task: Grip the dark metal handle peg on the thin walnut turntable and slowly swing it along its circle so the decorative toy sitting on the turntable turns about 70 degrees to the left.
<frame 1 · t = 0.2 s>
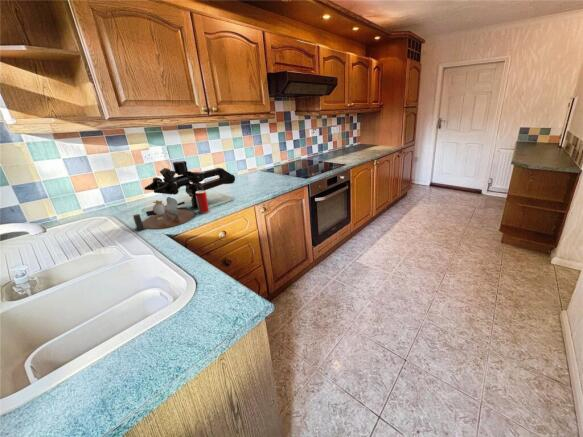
hand: (149, 190, 127), 17 cm above the worktop, tool horizontal, fingers open, 9 cm apart
decorative toy: (169, 218, 137), resting on turntable
soda can: (204, 212, 144), on the worktop
turntable: (164, 213, 134), point 4 cm above the worktop, hinge at 0.0°, touching decorative toy
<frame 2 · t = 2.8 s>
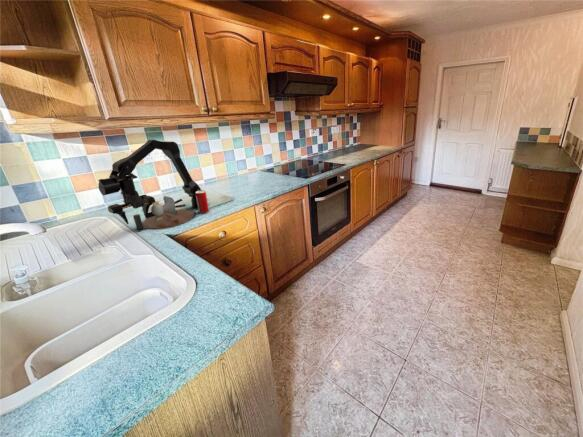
hand: (137, 221, 124), 4 cm above the worktop, tool pointing down, fingers open, 8 cm apart
decorative toy: (169, 217, 136), point 1 cm above the worktop, touching gripper, turntable
everything else where it was.
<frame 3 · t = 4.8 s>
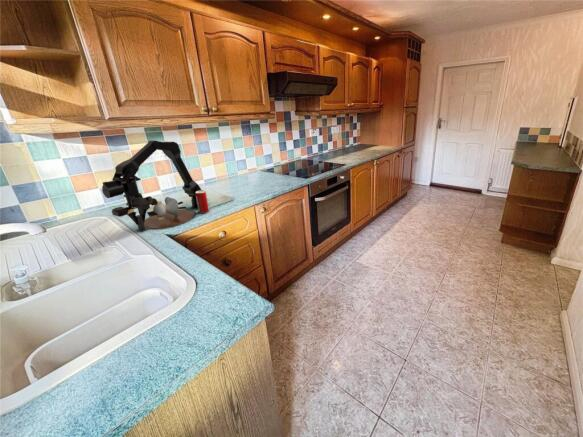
hand: (140, 223, 123), 4 cm above the worktop, tool pointing down, fingers closed on turntable, 3 cm apart
decorative toy: (169, 218, 137), resting on turntable
turntable: (164, 213, 134), point 4 cm above the worktop, hinge at 6.8°, touching decorative toy, gripper
everything else where it was.
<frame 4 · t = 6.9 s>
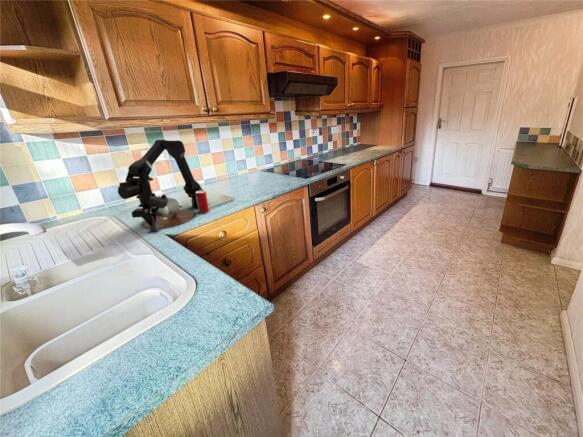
hand: (153, 224, 121), 4 cm above the worktop, tool pointing down, fingers closed on turntable, 3 cm apart
turntable: (165, 213, 133), point 4 cm above the worktop, hinge at 33.5°, touching decorative toy, gripper
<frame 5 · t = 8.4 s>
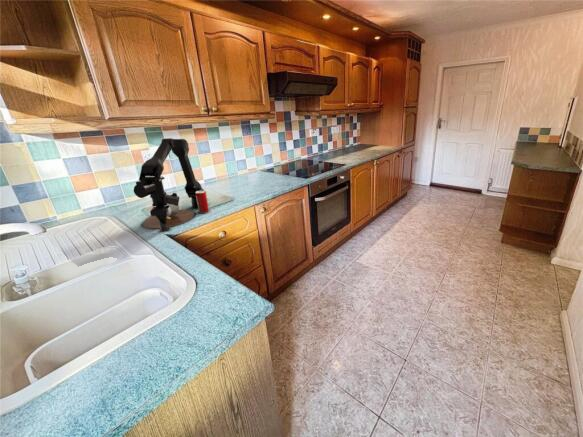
hand: (164, 223, 122), 4 cm above the worktop, tool pointing down, fingers closed on turntable, 3 cm apart
turntable: (167, 213, 133), point 4 cm above the worktop, hinge at 52.7°, touching decorative toy, gripper
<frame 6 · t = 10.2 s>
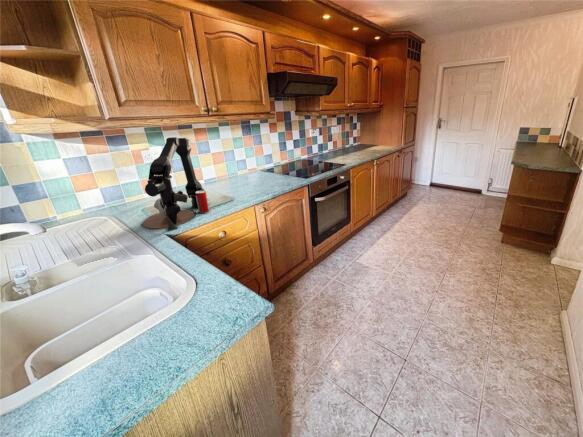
hand: (173, 221, 123), 4 cm above the worktop, tool pointing down, fingers open, 9 cm apart
decorative toy: (169, 218, 137), resting on turntable, touching gripper
turntable: (168, 213, 134), point 4 cm above the worktop, hinge at 65.4°, touching decorative toy
everything else where it was.
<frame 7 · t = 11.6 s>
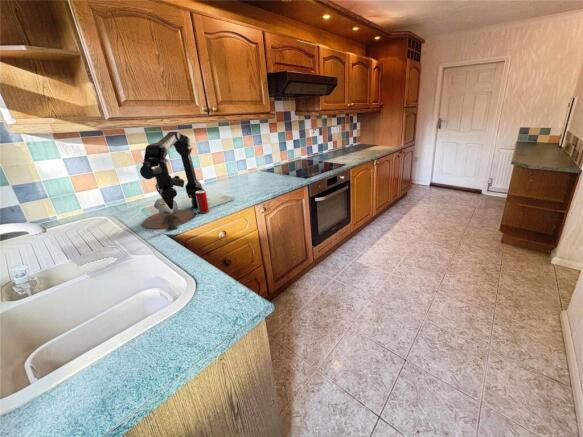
hand: (169, 206, 121), 11 cm above the worktop, tool pointing down, fingers open, 9 cm apart
decorative toy: (169, 218, 137), resting on turntable
everything else where it was.
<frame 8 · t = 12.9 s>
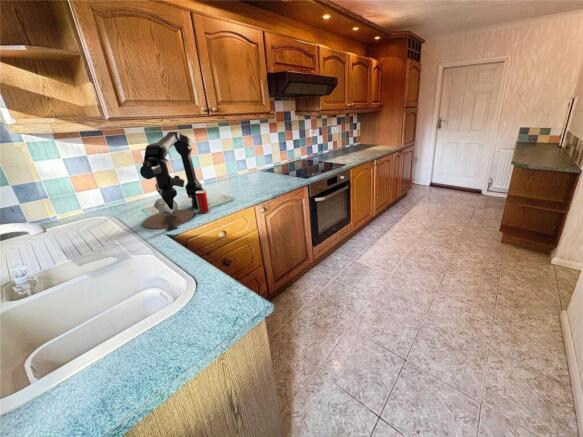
hand: (169, 206, 121), 11 cm above the worktop, tool pointing down, fingers open, 9 cm apart
nothing on the worktop moved.
at the end: turntable at +65° (first picture: +0°); decorative toy 0.6 cm from the turntable (horizontally); decorative toy resting on turntable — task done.
